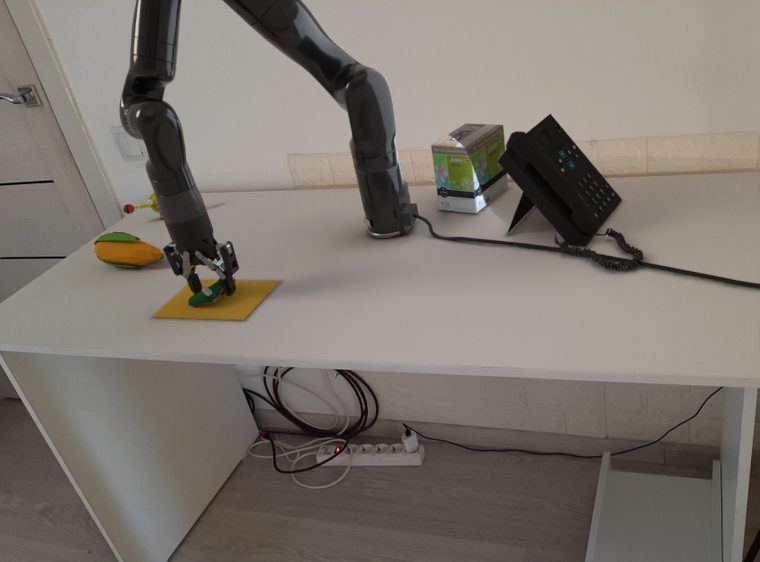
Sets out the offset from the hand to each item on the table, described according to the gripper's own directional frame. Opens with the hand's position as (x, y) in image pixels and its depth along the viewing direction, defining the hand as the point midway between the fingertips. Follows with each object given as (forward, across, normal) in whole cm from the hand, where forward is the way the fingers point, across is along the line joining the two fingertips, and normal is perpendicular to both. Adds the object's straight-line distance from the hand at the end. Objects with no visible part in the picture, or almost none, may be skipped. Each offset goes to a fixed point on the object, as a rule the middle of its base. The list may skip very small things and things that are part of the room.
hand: (214, 293), depth 131 cm
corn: (+2, +30, -14) cm, 33 cm away
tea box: (+2, -40, -45) cm, 60 cm away
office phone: (+1, -66, -28) cm, 72 cm away
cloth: (+1, 0, 0) cm, 1 cm away
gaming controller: (+1, 0, 0) cm, 1 cm away
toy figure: (+2, +40, -39) cm, 56 cm away
